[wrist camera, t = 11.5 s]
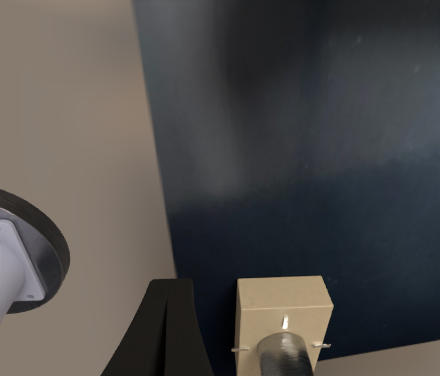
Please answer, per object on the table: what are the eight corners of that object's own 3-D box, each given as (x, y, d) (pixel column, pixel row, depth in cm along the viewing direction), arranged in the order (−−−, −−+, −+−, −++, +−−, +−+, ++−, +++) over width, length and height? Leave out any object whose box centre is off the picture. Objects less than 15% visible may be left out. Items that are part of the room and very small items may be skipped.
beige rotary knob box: (309, 343, 31) (319, 376, 29) (228, 347, 31) (230, 381, 28) (328, 274, 26) (342, 307, 23) (229, 278, 26) (233, 312, 23)
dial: (308, 331, 25) (324, 382, 22) (301, 359, 27) (314, 408, 24) (258, 333, 25) (267, 384, 22) (255, 360, 27) (262, 411, 24)
